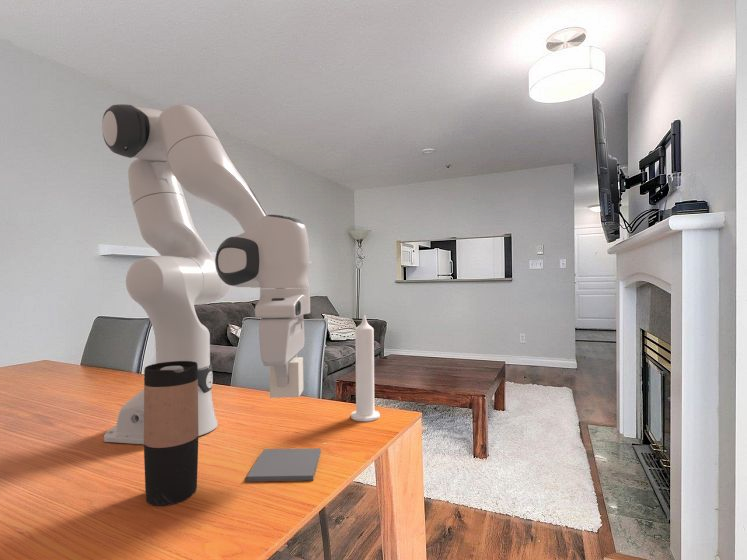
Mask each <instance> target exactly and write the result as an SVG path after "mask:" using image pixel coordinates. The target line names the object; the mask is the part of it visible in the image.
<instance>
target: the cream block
mask: <svg viewBox="0 0 747 560" xmlns="http://www.w3.org/2000/svg"><path fill="white" fill-rule="evenodd" d="M268 367H269V399H273V398H277V399H278V398H281V399H282V398H300V397H301V394H302V393H303V391H304V357H303V356H302V357H301V356H299V357H298V356H297V357H293V358H292V359H291V360H289V361H288V367H287V368H288V375H289V383H288V385H287V386H286V387H278V386H277V377H276V374H275V370H274V366H268Z"/></svg>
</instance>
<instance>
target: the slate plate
mask: <svg viewBox="0 0 747 560" xmlns="http://www.w3.org/2000/svg"><path fill="white" fill-rule="evenodd" d="M321 454H322V449H321V447H320V448H263V449H262V451H261V453H260V454H259V455H258V458H257V459H256V460H255V462H254V464H253V466H252V467H251V469H250V470H249V471H248V473H247V475H246V478H245V479H246V481H245V482H287V481H288V482H290V481H293V482H295V481H296V482H297V481H300V482H301V481H302V482H303V481H314V478H315V474H316V472H317V468H318V464H319V461H320V457H321Z"/></svg>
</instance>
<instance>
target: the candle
mask: <svg viewBox="0 0 747 560" xmlns="http://www.w3.org/2000/svg"><path fill="white" fill-rule="evenodd" d="M374 331H375V329H374V327H372V325H370V324H369V322H368V321H367V316H366V314H364V315H363V317H362V320H361V322H360V324H359V325H357V327H355V330H354V332H355V335H354V336H355V339H354V340H355V410H354V411H352V412H351V413H350V417H351V418H350V419H352V420H353V421H357V422H373V421H376V420H378V419H380V417H381V414H380V412H379V411H378V410H375V346H374V345H375V336H374V334H375V332H374Z"/></svg>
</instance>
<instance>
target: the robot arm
mask: <svg viewBox="0 0 747 560" xmlns="http://www.w3.org/2000/svg"><path fill="white" fill-rule="evenodd" d="M101 122H102V123H101V131H102V137H103V140H104V143H105V145H106V146H107V147H108V148H109V150H110V151H111V152H112V153H114V154H116V155H118V156H122V157H126V158H129V159H131V158H135V159H134V160H133V161H132V162H131V163H130V164H129V166H128V171H127V173H128V177H127V178H128V179H127V180H128V187H129V188H128V189H129V194H130V199H131V203H132V207H133V211H134V214H135V218H136V221H137V224H138V228H139V231H140V235H141V238H142V239H143V240H144V242H145V243H146V244H147V245H148V246H150V247H151V248H153V249H154V250H155V251H156V252H157V253H158V254H159V255H154V256H147V257H143V258H139V259H137V260H136V261H134V262H133V263H132V264H131V265H130V267H129V268H128V271H127V273H126V276H125V286H126V290H127V292H128V294H129V296H130V297H131V299H132V300H133V301H134V302H136V303H137V304H138V305H140V307H141V308H142V309H143V310H144V311H145V313H146V315H147V317H148V319H149V321H150V323H151V326H152V330H153V332H154V333H153V334H154V342H155V343H154V344H155V364H157V363H163V362H172V361H193V362H196V363H197V365H198V431H199V434H198V437H200V436H202V435H206V434H208V433H210V432H212V431H214V430H215V429H216V428H217V427H218V426H219V423H218V420H217V417H216V413H215V409H214V408H215V407H214V402H213V397H212V388H213V381H214V379H213V375H214V374H213V366H212V363H211V334H210V331H209V328H208V327H207V326H205V325H204V324H203V323H201V321H200V319H199V318H198V314H197V312H196V308H195V305H207V304H210V303H212V302H215V301H218V300H221V299H222V298H223V297H225V296H226V294H227V293H228V292H229V290H230V286H232V287H236V288H257V289H258V288H259V299H258V301H257V303H256V305H255V309H254V314H255V318H256V319H260V320H259V322H258V339H259V340H258V341H259V351H260V353H259V354H260V359H261V362H262V364H263V366H265V367H269V366H274V370H275V374H276V377H277V386H278V387H286V386H287V385H288V383H289V375H288V368H287V367H288V361H289V360H291V359H292V358H293V357H298V353H299V352H300V351H302V349H303V348H304V346H305V321H304V315H309V314H311V289H310V288H311V285H310V281H309V276H308V272H309V268H310V262H311V261H310V244H309V242H310V241H309V235H308V231H307V227H306V225H305V223H304V222H303V221H302V220H300V219H298V218H295V217H290V216H285V215H280V214H268V212H267V210H266V209H265V207H264V206H263V204H262V203H261V200H260V199H259V198H258V196H257V195H256V193H255V192H254V190H253V189H252V188H251V186H250V185H249V184H248V183H247V181H246V180H245V179H244V178H243V177H242V175H241V174H240V173H239V171H238V170H237V168H236V167H235V165H234V163H233V162H232V161H231V159H230V157H229V156H228V154H227V152H226V151H225V148H224V147H223V145H222V143H221V141H220V139H219V137H218V135H216V133H215V131H214V129H213V128H212V126H211V124H210V123H209V122H208V121H207V120H206V118H205V117H204V116H203V115H202V113H201V112H200V111H199V110H197V109H196V108H194V107H193V106H191V105H188V104H174V105H170V106H168V107H166V108H165V109H154V108H148V107H139V106H134V105H132V104H113V105H110V106H109V107H108V108H107V109H106V110H105V111H104V114H103V116H102V121H101ZM183 189H184V190H185V191H186V192H187V193H189V194H190V195H192V196H194V197H196V198H199V199H200V200H203V201H206V202H208V203H210V204H212V205H214V206H216V207H218V208H220V209H222V210H223V211H225V212H226V213H228V214H230V215H231V216H232V217H233V218H234V219H235V220H236V221H237V222H238V224H239V225H240V227H241V228H242V230H243V233H242V232H241V233H240V234H238V235H235V236H230V237H227V238H226V239H225V240H223V241H222V242H221V244H219V246H218V248H217V250H216V253H215V256H214V255H212V253H211V252H210V250H209V249H208V247H207V246H206V244H205V243H204V242H203V240H202V238H201V237H200V235H199V232H198V231H197V229H196V227H195V224H194V221H193V218H192V215H191V212H190V209H189V205H188V203H187V200H186V197H185V194H184V193H185V192H184V191H183ZM103 442H105V443H116V444H117V443H118V444H131V445H132V444H133V445H134V444H135V445H144V388H143V389H142V390H141V391H140V392H138V393H137V394H136V395H134V396H133V397H132V398H131V399H129V400H128V401H127V402H126V403H125V404H123V405H122V407H121V408H120V409H119V412H118V414H117V419H116V424H115V426H113V427H112V428H110V429H108V430H107V431H106V432H105V434H104V436H103Z"/></svg>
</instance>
